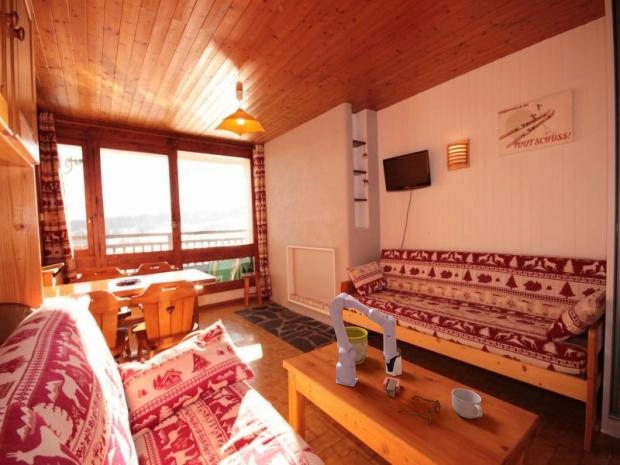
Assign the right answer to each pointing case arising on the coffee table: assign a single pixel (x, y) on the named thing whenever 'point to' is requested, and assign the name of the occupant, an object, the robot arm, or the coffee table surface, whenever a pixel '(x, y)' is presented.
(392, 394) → the beige rectangular block
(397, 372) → the jar
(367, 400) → the coffee table surface
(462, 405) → the teacup
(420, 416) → the glasses
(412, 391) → the coffee table surface
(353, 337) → the flowerpot
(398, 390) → the end cap
